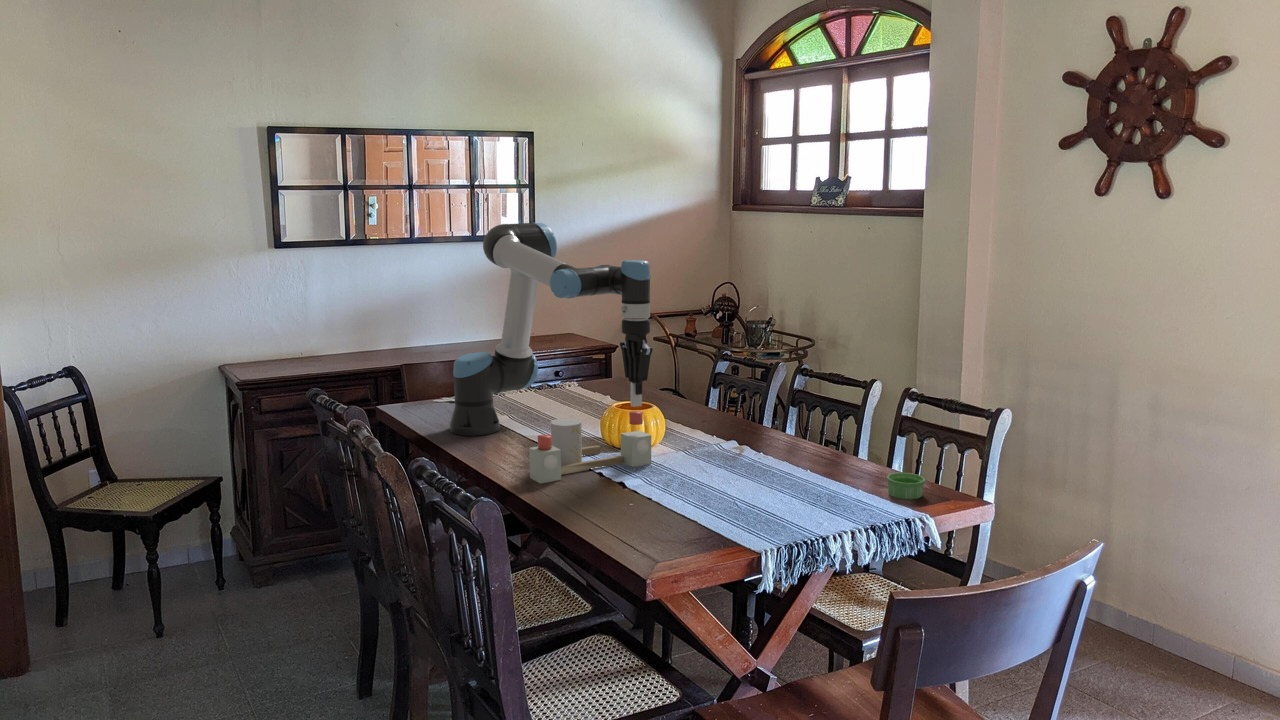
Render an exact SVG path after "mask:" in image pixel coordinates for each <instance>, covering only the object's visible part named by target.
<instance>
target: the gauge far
mask: <svg viewBox="0 0 1280 720" xmlns="http://www.w3.org/2000/svg"><path fill="white" fill-rule="evenodd" d="M628 412H629V413H628V415H629V416H628V417H629V419H628V420H629V424H630V425H633V426H638V425H642V424H643V419H644V416H643V413H644V412H643V411H640V410H632V411H628Z"/></svg>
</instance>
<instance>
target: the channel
mask: <svg viewBox="0 0 1280 720" xmlns="http://www.w3.org/2000/svg"><path fill="white" fill-rule="evenodd" d="M597 453H598V454H601V446H600V445H591V446H583V447H582V455H583V456H582V457H585V456H584V455H587V456H592V455H591V454H593V455H598V454H597ZM618 464H620V465H624V463H623V457H622V456H621V455H615V456H610V457H605V458H604V457H603V458H598V459H597V458H596V459H592V460H587V461H582V462H579V463H573V464H567V465H561V476H562V475H568V474H573V473H578V472H583V471H584V472H585V471H590V470H589V469H591V468H595V467H602V466H608V467H611V466H610V465H614V466H619V465H618ZM591 470H592V469H591Z"/></svg>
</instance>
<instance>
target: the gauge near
mask: <svg viewBox="0 0 1280 720" xmlns="http://www.w3.org/2000/svg"><path fill="white" fill-rule="evenodd" d="M537 446H538V449H543V450H546V449H551V448H552V436H551V434H539V435H537Z"/></svg>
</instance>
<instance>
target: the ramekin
mask: <svg viewBox="0 0 1280 720" xmlns="http://www.w3.org/2000/svg"><path fill="white" fill-rule="evenodd" d="M886 479H887V489H888V490H887V491H888V495H889V496H891V497H893V498H896V499H900V500H918V499H920V498H922V496H923V494H924V493H923V492H924V486H925V485H924V484H925V482H926V479H925V477H924V476H922V475H921V474H920V475H919V474H916V473H912V472H893V473H890V474H888V475H887V476H886Z"/></svg>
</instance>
